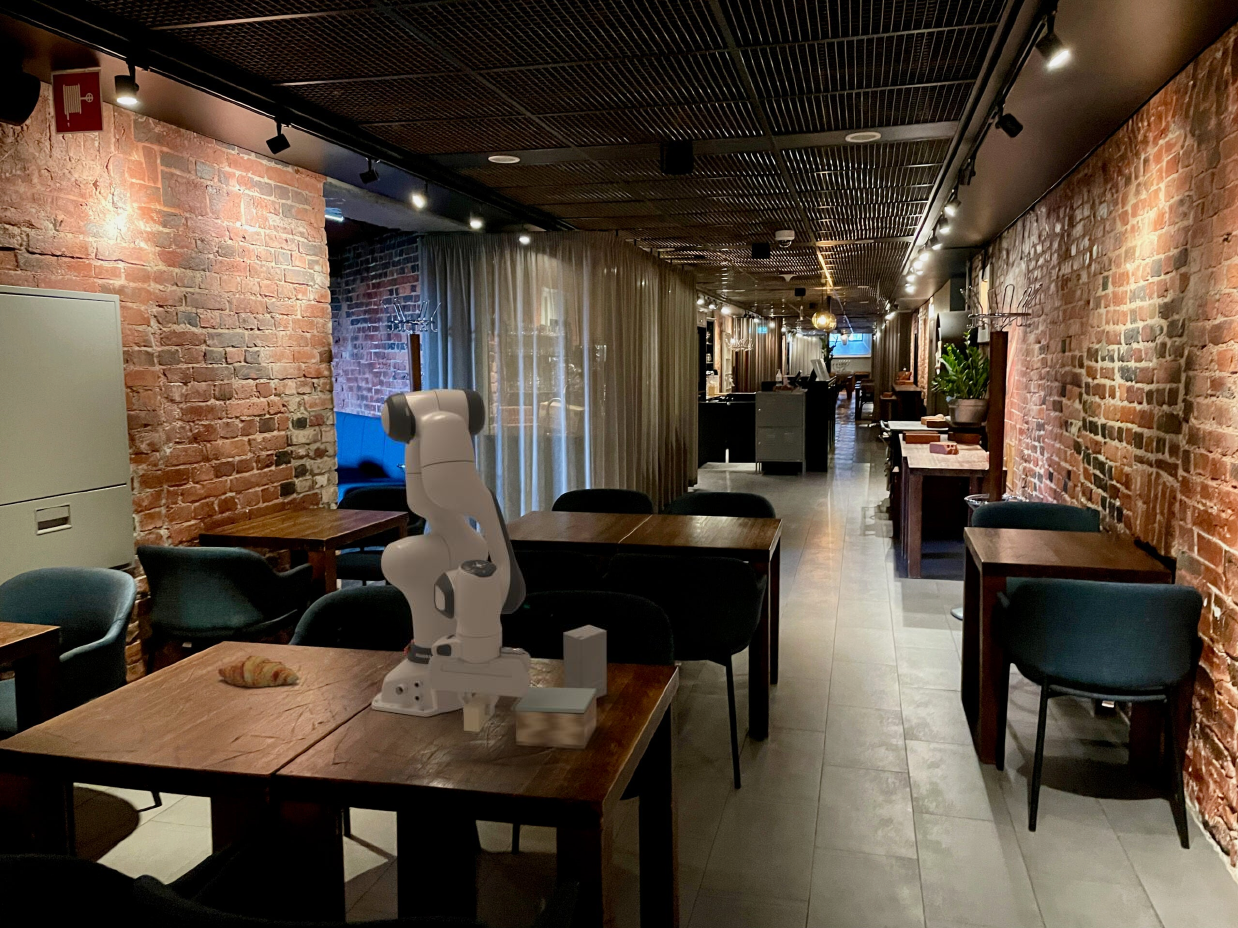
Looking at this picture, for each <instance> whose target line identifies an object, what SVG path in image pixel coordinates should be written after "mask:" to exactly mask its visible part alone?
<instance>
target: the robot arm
mask: <svg viewBox="0 0 1238 928" xmlns="http://www.w3.org/2000/svg"><path fill="white" fill-rule="evenodd" d="M486 415H487V411H486V406H485V403H484V400H483V398H482V396H481V394H479V392H478V391H475V390H471V389H468V388H467V389H466V388H461V389H453V388H452V389H451V388H433V389H429V390H418V391H410V392H406V393H404V391H402V392H398V393H393V394H390V395H388V396H387V398H386V399H385V400H384V402H383V407H382V408H381V413H380V418H381V424H382V428H383V430H384V432H385V434H386V436H387V437H388V438H389V439H391V440H392V441H394V442H398V443H403V444H405V447H404V450H405V451H404V473H405V474H404V475H405V488H406V502H407V505H408V508H409V509H410V511H411V512H413V513H414V514H416V515H417V516H419V517H421V518H424V520H425V521H426V522H427V524H428V526H429V531H430V533H427V534H425V533H424V534H420V535H411V536H406V537H403V538H401V539H398V540H396V541H393V542H390V543H389V544H388V545H387V546H385V548H384V550H383V552H382V554H381V559H380V561H381V562H380V563H381V564H380V567H381V572H382V574H383V576H384V577H385V579H386V580H387V581H388V582H389V583H390V584H391V585H393V587H395V588H397V589H398V590H399V591H401V592H402V593H403V595H404V597H405V599H406V600H407V602H408V605H409V606H410V610H411V611H410V612H411V615H412V618H411V619H412V627H413V639H411V641H410V643H408V644H407V645H406V647H405V648H404V649H403V650H404V651H403V654H406V658H405V659H404V660H403V661H401V662H400V663H399V664H398V665H397V666H395V667H394V668H393V669H392V670H391V671H389V672H388V673H387V674H386V675H385V677H384V679H383V682H382V685H381V686H382V687H381V692H379V693H378V694H377V695H376V696H375V697H374V698H373V699H372V701H371V709H372V710H374V711H375V710H376V711H383V712H389V713H390V712H391V713H397V714H404V715H410V716H418V717H426V718H427V717H431V716H435V715H439V714H441V713H447V712H453V711H457V710H460V709H462V712H463V714H464V707H465V706H466V705H467V704H468V703H469V701H470V700H471V699H472V698H473V697H474V696H473V694H476V693H479V694H490V699H492V700H493V701H492V703H491V704H487V706H485V711H486V712H485V715H490V716H491V717H493V716H494V715H495V712H496V705H497V702H498V701H499V700H500V698H501V696H502V697H513V698H519V697H524V696H525V695H526V694H527V693H528V692H529V690H530V688H531V687H532V685H531V672H530V669H531V664H532V659H531V655H530V653H529V652H528V651H526V650H525V649H523V648H521V647H517V648H515V647H507V646H503V627H502V623H501V615H505V614H506V615H507V614H514V613H515V612H516V611H517V610H518V609H519V607H520V606H521V605H522V603H523V602H524V601H525V599H526V595H527V593H526V592H527V589H526V583H525V582H526V581H525V578H524V576H523V574H522V571H521V569H520V567H519V563H518V562H517V559H516V557H515V552H514V549H513V546H512V542H511V540H510V534H509V532H508V529H507V528H508V527H507V525H506V522H505V518H504V515H503V512H502V508H501V506H500V503H499V500H498V498H497V495H496V493H495V492H494V491H493V489H491V488H489V487H487V486H486V485H485V484H484V482H483V480H482V479H481V477H480V475H479V473H478V470H477V463H476V456H475V455H476V454H475V450H474V444H473V442H472V438H473V437H476V436H477V435H478V434H480V433H481V431H482V430H483V429H484V428H485V427H484V426H485V422H486V417H487V416H486ZM466 517H468V518H469V519H472V520H473V521H475V522H476V523H477V524H478V525H479V526H480V528H481V530H482V532H483V535H482V534H481V532H480V531H477V530H476V529H475V528H474V527H472V525H471V524H470V523H469V522H468V520H467V518H466ZM489 556H490V561H488V557H489Z"/></svg>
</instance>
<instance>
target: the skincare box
mask: <svg viewBox="0 0 1238 928" xmlns="http://www.w3.org/2000/svg"><path fill="white" fill-rule="evenodd" d="M562 640H563V688H590V689H596V693H595V694H596V699H598V698H601V697H603V696H606V695H607V693H608V692H607V691H608V690H607V687H608V686H607V685H608V684H607V683H608V680H607V678H608V677H607V675H608V673H607V665H608V664H607V630H605V629H602V628H600V627H596V626H594V625H591V624H586V625H584V626H581V627H577V628H575V629H571V630H568V631H565V632H563V639H562Z"/></svg>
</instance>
